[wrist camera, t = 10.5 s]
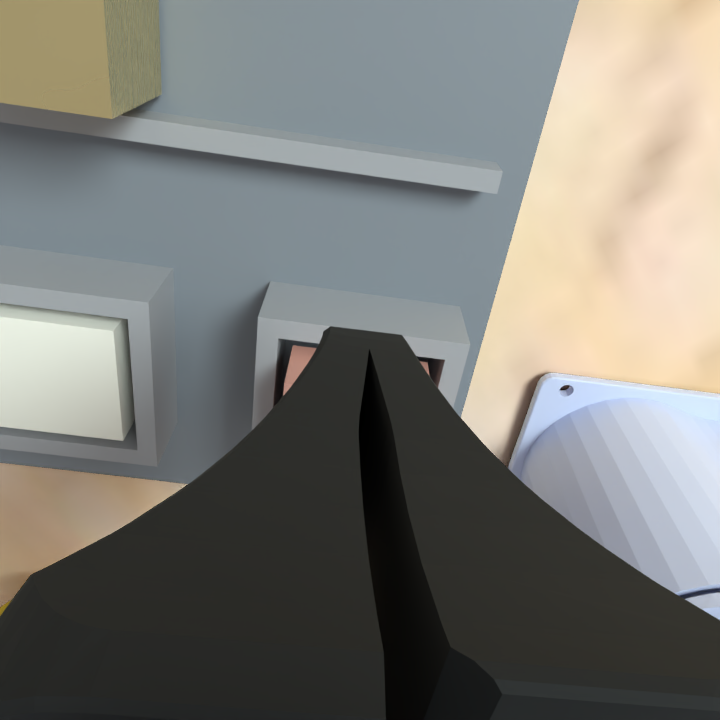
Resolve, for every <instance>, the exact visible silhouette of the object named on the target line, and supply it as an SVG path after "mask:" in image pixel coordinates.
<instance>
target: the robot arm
mask: <svg viewBox="0 0 720 720" xmlns="http://www.w3.org/2000/svg"><path fill="white" fill-rule="evenodd" d="M564 385H570V387H569V388H568V389H566V390H562V391H561V390H560V388H561V387H562V386H564ZM0 720H720V394H716V393H709V392H701V391H693V390H685V389H677V388H670V387H662V386H654V385H646V384H638V383H631V382H623V381H615V380H607V379H599V378H592V377H584V376H576V375H568V374H560V373H548V374H546V375H544V376H542V377H541V378H540V380H539V381H538V383H537V386H536V389H535V392H534V395H533V398H532V400H531V403H530V406H529V409H528V412H527V415H526V417H525V420H524V423H523V426H522V429H521V431H520V434H519V437H518V440H517V443H516V446H515V448H514V451H513V454H512V457H511V460H510V462H509V465H508V468H507V467H506V466H505V465H504V464H503V463H502V462H501V461H500V460H499V459H498V458H497V457H496V456H495V455H494V454H493V453H492V452H491V451H490V450H489V449H488V448H487V447H486V446H485V445H484V444H483V443H482V442H481V441H480V440H479V438H478V437H477V436H476V435H475V434H474V433H473V432H472V430H471V429H470V428H469V427H468V426H467V425H466V423H465V422H464V421H463V420H462V419H461V418H460V416H459V415H458V414H457V413H456V412H455V410H454V409H453V408H452V406H451V405H450V404H449V402H448V401H447V400H446V398H445V397H444V396H443V394H442V393H441V392H440V390H439V389H438V387H437V386H436V385H435V383H434V382H433V380H432V379H431V378H430V376H429V375H428V373H427V372H426V370H425V369H424V367H423V366H422V364H421V363H420V361H419V360H418V358H417V357H416V355H415V353H414V352H413V350H412V349H411V347H410V346H409V344H408V343H407V341H406V340H405V338H404V337H403V336H402V335H399V334H391V333H383V332H375V331H367V330H358V329H350V328H342V327H334V326H330V327H329V328H327V329H326V330H325V331H323V335H322V338H321V340H320V343H319V345H318V347H317V349H316V350H315V352H314V354H313V355H312V357H311V359H310V360H309V362H308V364H307V365H306V366H305V368H304V369H303V371H302V372H301V373H300V375H299V376H298V378H297V379H296V380H295V382H294V383H293V385H292V386H291V387H290V389H289V390H288V391H287V392H286V393H285V395H284V396H283V397H282V398H281V399H280V400H279V402H278V403H277V404H276V405H275V406H274V407H273V408H272V410H271V411H270V412H269V413H268V414H267V415H266V416H265V418H264V419H263V420H262V421H261V422H260V423H259V424H258V425H257V426H256V427H255V428H254V429H253V430H252V431H251V432H250V433H249V434H248V435H247V436H246V437H245V438H243V439H242V440H241V441H240V442H239V443H238V444H237V445H236V446H235V447H234V448H233V449H231V450H230V451H229V452H228V453H227V454H226V455H224V456H223V457H222V458H221V459H220V460H218V461H217V462H216V463H215V464H213V465H212V466H211V467H210V468H208V469H207V470H206V471H205V472H204V473H202V474H201V475H200V476H198V477H197V478H196V479H194V480H193V481H192V482H190V483H189V484H188V485H186V486H185V487H184V488H182V489H181V490H179V491H178V492H176V493H175V494H173V495H172V496H170V497H169V498H167V499H166V500H164V501H163V502H161V503H160V504H158V505H156V506H155V507H153V508H152V509H150V510H149V511H147V512H146V513H144V514H143V515H141V516H140V517H138V518H137V519H135V520H133V521H132V522H130V523H129V524H127V525H125V526H124V527H122V528H120V529H119V530H117V531H115V532H114V533H112V534H110V535H108V536H106V537H104V538H102V539H100V540H98V541H97V542H95V543H93V544H91V545H89V546H87V547H85V548H83V549H81V550H79V551H77V552H75V553H73V554H72V555H70V556H68V557H66V558H64V559H62V560H60V561H58V562H56V563H54V564H52V565H50V566H48V567H46V568H44V569H42V570H40V571H38V572H36V573H34V574H32V575H30V577H29V578H28V579H27V581H26V582H25V583H24V585H23V586H22V587H21V589H20V590H19V591H18V593H17V594H16V595H15V597H14V598H13V599H12V601H11V602H10V603H9V605H8V606H7V607H6V609H5V610H4V611H3V613H2V614H1V616H0Z"/></svg>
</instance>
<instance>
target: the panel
mask: <svg viewBox="0 0 720 720" xmlns="http://www.w3.org/2000/svg"><path fill="white" fill-rule="evenodd" d="M578 1H579V0H159V30H160V60H161V90H162V94H161V95H159V96H157V97H155V98H153V99H151V100H149V101H147V102H145V103H143V104H141V105H139V106H137V107H135V108H133V109H131V110H129V111H127V112H125V113H123V114H121V115H119V116H117V117H115V118H113V119H108V118H101V117H95V116H88V115H81V114H74V113H67V112H61V111H54V110H47V109H40V108H33V107H26V106H20V105H13V104H6V103H0V303H6V304H14V305H22V306H29V307H37V308H45V309H53V310H61V311H68V312H76V313H84V314H92V315H100V316H107V317H115V318H123V319H128V329H129V342H130V356H131V369H132V383H133V396H134V409H135V420H134V422H133V424H132V426H131V428H130V430H129V431H128V433H127V435H126V437H125V439H124V440H123V441H119V440H111V439H102V438H94V437H85V436H76V435H68V434H59V433H51V432H42V431H34V430H25V429H17V428H8V427H0V463H9V464H18V465H27V466H36V467H44V468H53V469H62V470H71V471H80V472H88V473H97V474H106V475H115V476H124V477H132V478H141V479H150V480H159V481H168V482H176V483H185V484H189V483H190V482H192V481H193V480H194V479H196V478H197V477H198V476H200V475H201V474H202V473H204V472H205V471H206V470H207V469H208V468H210V467H211V466H212V465H213V464H215V463H216V462H217V461H218V460H220V459H221V458H222V457H223V456H224V455H226V454H227V453H228V452H229V451H230V450H231V449H233V448H234V447H235V446H236V445H237V444H238V443H239V442H240V441H241V440H242V439H243V438H245V437H246V436H247V435H248V434H249V433H250V432H251V431H252V430H253V429H254V428H255V427H256V426H257V425H258V424H259V423H260V422H261V421H262V420H263V419H264V418H265V416H266V415H267V414H268V413H269V412H270V411H271V410H272V408H273V407H274V406H275V405H276V404H277V403H278V402H279V400H280V399H281V398H282V397H283V392H284V382H285V378H286V373H287V369H288V364H289V360H290V356H291V351H292V347H293V345H296V346H303V347H311V348H317V347H318V345H319V343H320V340H321V338H322V335H323V331H325V330H326V329H327V328H329V327H330V326H334V327H342V328H350V329H358V330H367V331H375V332H383V333H391V334H399V335H402V336H403V337H404V338H405V340H406V341H407V343H408V344H409V346H410V347H411V349H412V350H413V352H414V353H415V355H416V357H417V358H418V360H419V361H421V362H428V369H429V375H430V378H431V379H432V380H433V382H434V383H435V385H436V386H437V387H438V389H439V390H440V392H441V393H442V394H443V396H444V397H445V398H446V400H447V401H448V402H449V404H450V405H451V406H452V408H453V409H454V410H455V412H456V413H457V414H458V415H459V416H460V418H461V414H462V411H463V407H464V404H465V400H466V397H467V393H468V390H469V386H470V383H471V379H472V376H473V372H474V368H475V365H476V361H477V358H478V354H479V351H480V347H481V344H482V340H483V337H484V333H485V330H486V326H487V323H488V319H489V316H490V312H491V308H492V305H493V301H494V298H495V294H496V291H497V287H498V284H499V280H500V277H501V273H502V270H503V266H504V263H505V259H506V255H507V252H508V248H509V245H510V241H511V238H512V234H513V231H514V227H515V224H516V220H517V217H518V213H519V210H520V206H521V203H522V199H523V195H524V192H525V188H526V185H527V181H528V178H529V174H530V171H531V167H532V164H533V160H534V157H535V153H536V150H537V146H538V143H539V139H540V135H541V132H542V128H543V125H544V121H545V118H546V114H547V111H548V107H549V104H550V100H551V97H552V93H553V90H554V86H555V83H556V79H557V75H558V72H559V68H560V65H561V61H562V58H563V54H564V51H565V47H566V44H567V40H568V37H569V33H570V30H571V26H572V23H573V19H574V15H575V12H576V8H577V5H578Z"/></svg>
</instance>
